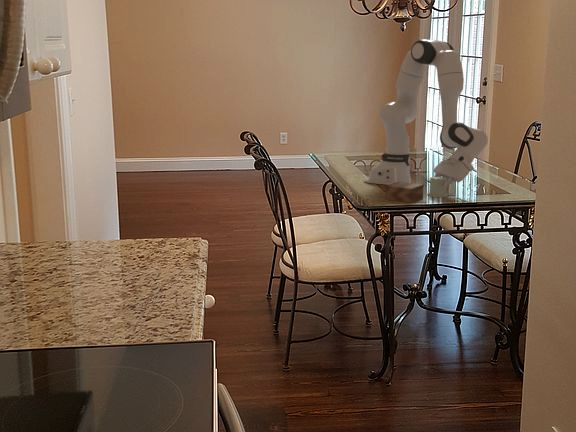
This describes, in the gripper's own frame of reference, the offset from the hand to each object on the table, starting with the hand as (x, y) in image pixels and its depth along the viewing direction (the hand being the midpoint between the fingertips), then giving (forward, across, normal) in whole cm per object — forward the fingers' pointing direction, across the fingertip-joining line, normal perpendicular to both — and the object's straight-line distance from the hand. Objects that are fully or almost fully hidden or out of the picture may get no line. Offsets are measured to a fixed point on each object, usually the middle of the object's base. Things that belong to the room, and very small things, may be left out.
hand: (438, 184), depth 308 cm
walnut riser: (+15, +1, -8) cm, 17 cm away
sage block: (+4, 0, +4) cm, 5 cm away
